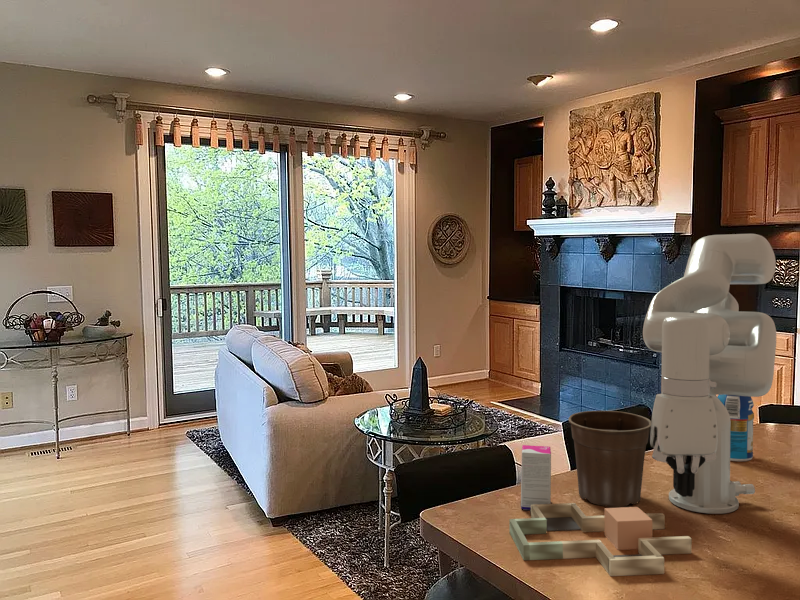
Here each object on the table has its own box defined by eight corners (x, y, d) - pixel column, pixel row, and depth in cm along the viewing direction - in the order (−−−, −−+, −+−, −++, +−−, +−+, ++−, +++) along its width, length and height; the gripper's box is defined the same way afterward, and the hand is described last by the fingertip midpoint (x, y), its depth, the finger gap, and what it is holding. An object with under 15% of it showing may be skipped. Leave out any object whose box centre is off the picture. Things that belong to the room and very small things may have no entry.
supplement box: (551, 511, 128) (551, 453, 128) (520, 510, 130) (520, 452, 129) (550, 501, 134) (550, 445, 133) (521, 499, 135) (520, 444, 135)
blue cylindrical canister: (706, 454, 163) (707, 373, 162) (734, 450, 166) (735, 371, 164) (733, 464, 155) (734, 379, 154) (761, 460, 157) (763, 376, 156)
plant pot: (659, 514, 126) (659, 430, 125) (572, 510, 129) (571, 428, 128) (643, 485, 142) (643, 411, 141) (566, 482, 145) (565, 409, 144)
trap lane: (647, 512, 127) (647, 500, 127) (711, 571, 103) (711, 556, 103) (502, 518, 126) (502, 505, 125) (533, 579, 102) (533, 563, 101)
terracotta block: (637, 534, 118) (637, 506, 117) (652, 548, 112) (652, 519, 111) (604, 535, 117) (604, 508, 117) (617, 550, 111) (617, 521, 111)
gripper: (716, 384, 117) (714, 486, 118) (633, 384, 116) (632, 488, 117) (739, 391, 110) (738, 500, 110) (651, 392, 109) (650, 502, 110)
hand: (683, 494), depth 114 cm, fingers closed
